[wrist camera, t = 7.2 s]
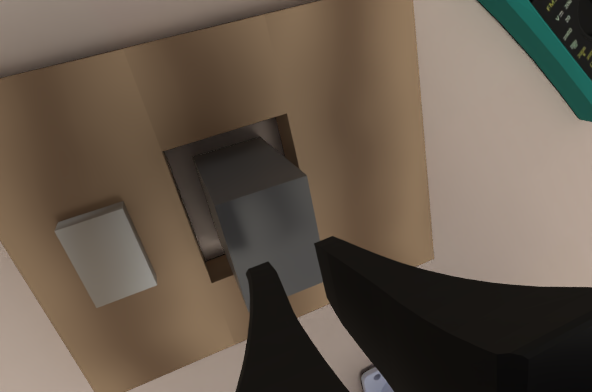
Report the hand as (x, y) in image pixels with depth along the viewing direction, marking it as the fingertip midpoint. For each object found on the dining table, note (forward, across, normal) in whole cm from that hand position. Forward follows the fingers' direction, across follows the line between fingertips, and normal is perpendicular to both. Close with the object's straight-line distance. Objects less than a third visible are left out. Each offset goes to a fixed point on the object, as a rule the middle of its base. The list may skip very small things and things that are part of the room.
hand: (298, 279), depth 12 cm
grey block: (+8, 0, 0) cm, 9 cm away
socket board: (+8, 0, 0) cm, 8 cm away
